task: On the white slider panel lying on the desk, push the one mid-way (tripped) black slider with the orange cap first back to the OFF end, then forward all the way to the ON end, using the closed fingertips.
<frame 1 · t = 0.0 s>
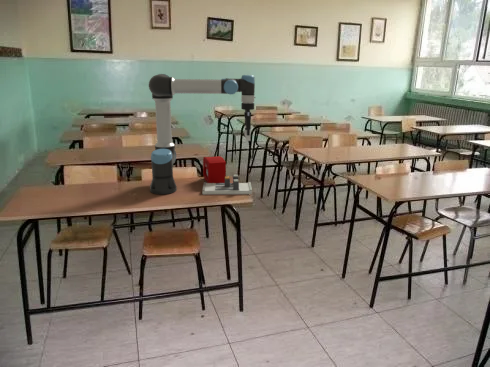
hand: (247, 138, 239), 28 cm above the table, fingers open, 13 cm apart
white slider panel: (227, 190, 234), on the table
tripped breaker: (227, 181, 233), point 5 cm above the table, slide at 5.0 cm
red rectangular box: (214, 181, 251), on the table
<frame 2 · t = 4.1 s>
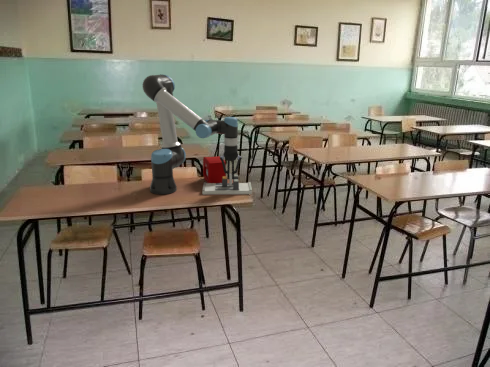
hand: (230, 184, 234), 3 cm above the table, fingers closed
tripped breaker: (224, 181, 233), point 5 cm above the table, slide at 3.6 cm, touching gripper
everything else where it was.
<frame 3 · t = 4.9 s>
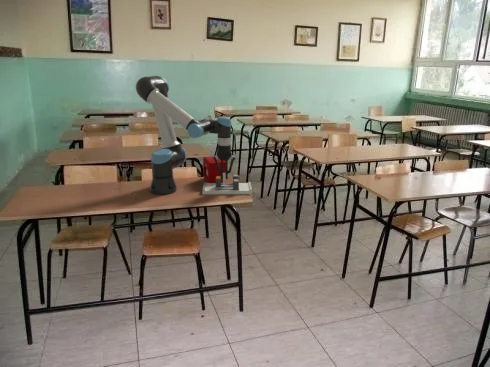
hand: (224, 184, 233), 4 cm above the table, fingers closed
tripped breaker: (218, 181, 233), point 5 cm above the table, slide at -0.1 cm, touching gripper
everything else where it was.
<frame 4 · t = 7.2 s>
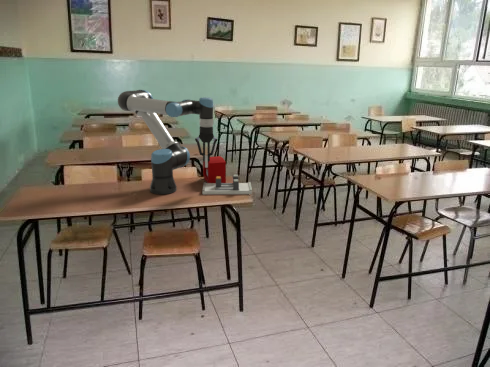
hand: (206, 166, 230), 14 cm above the table, fingers closed
tripped breaker: (218, 181, 233), point 5 cm above the table, slide at 0.0 cm
everything else where it was.
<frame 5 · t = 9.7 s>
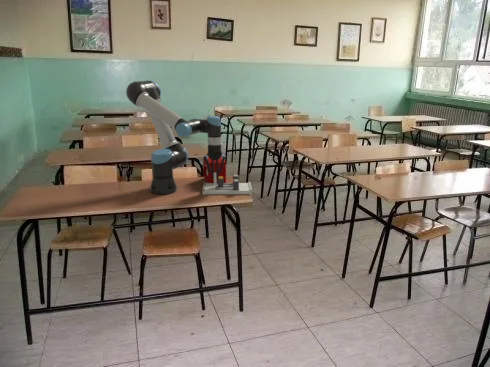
hand: (215, 184, 233), 4 cm above the table, fingers closed
tripped breaker: (220, 181, 233), point 5 cm above the table, slide at 1.3 cm, touching gripper
everything else where it was.
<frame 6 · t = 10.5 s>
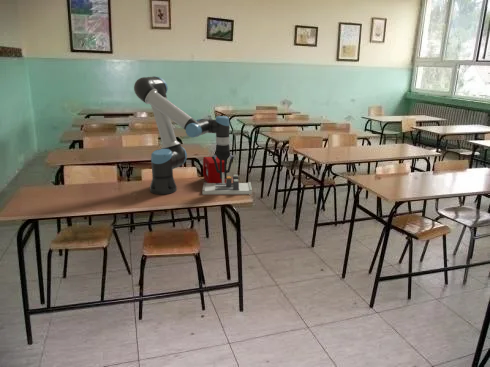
hand: (223, 183, 233), 4 cm above the table, fingers closed
tripped breaker: (228, 181, 233), point 5 cm above the table, slide at 6.0 cm, touching gripper
everything else where it was.
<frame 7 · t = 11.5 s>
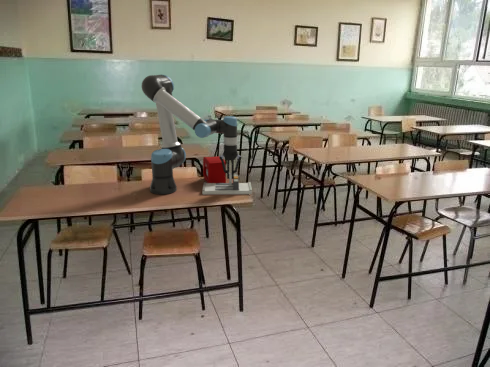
hand: (230, 184, 233), 4 cm above the table, fingers closed
tripped breaker: (235, 181, 233), point 5 cm above the table, slide at 10.1 cm, touching gripper
everything else where it was.
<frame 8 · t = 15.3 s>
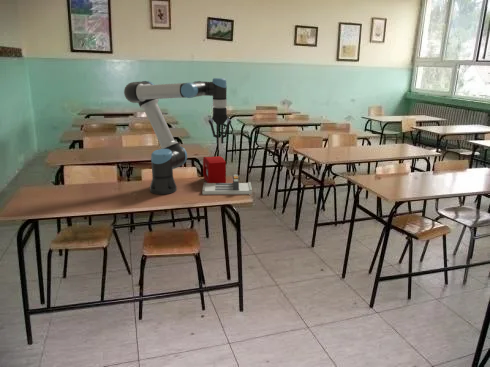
hand: (220, 149, 227), 24 cm above the table, fingers closed
tripped breaker: (235, 181, 233), point 5 cm above the table, slide at 10.0 cm
everything else where it was.
at the end: tripped breaker slide at 10.0 cm; tripped breaker touching nothing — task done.
